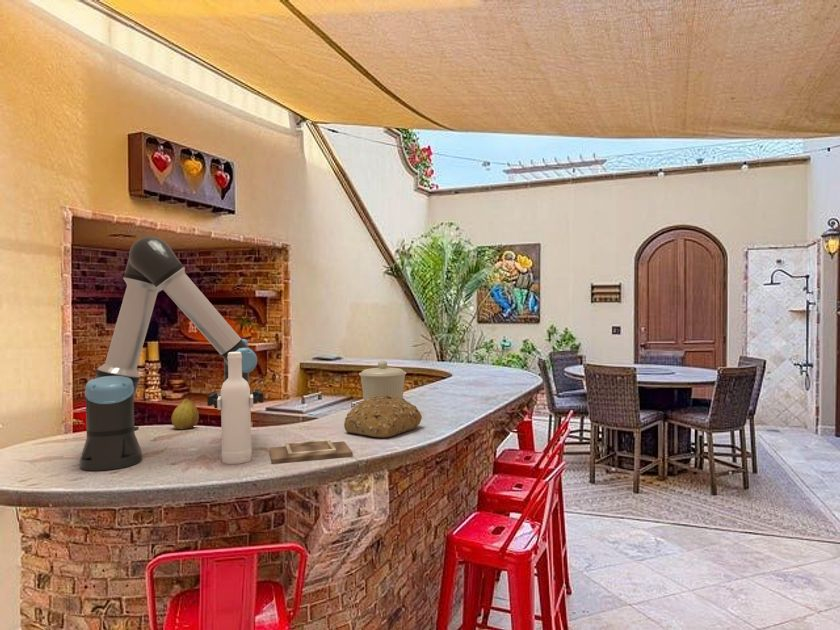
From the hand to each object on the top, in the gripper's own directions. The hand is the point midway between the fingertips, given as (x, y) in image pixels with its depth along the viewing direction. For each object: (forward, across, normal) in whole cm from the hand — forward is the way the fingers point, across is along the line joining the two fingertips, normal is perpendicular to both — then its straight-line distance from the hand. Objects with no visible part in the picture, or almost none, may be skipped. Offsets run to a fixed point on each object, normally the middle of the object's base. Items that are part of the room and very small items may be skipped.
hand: (235, 403), depth 157 cm
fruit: (-58, +18, -17) cm, 63 cm away
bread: (-28, -46, -17) cm, 57 cm away
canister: (-54, -53, -17) cm, 77 cm away
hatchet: (-53, +38, -17) cm, 67 cm away
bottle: (-5, 0, -17) cm, 17 cm away
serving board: (-5, -20, -16) cm, 26 cm away
